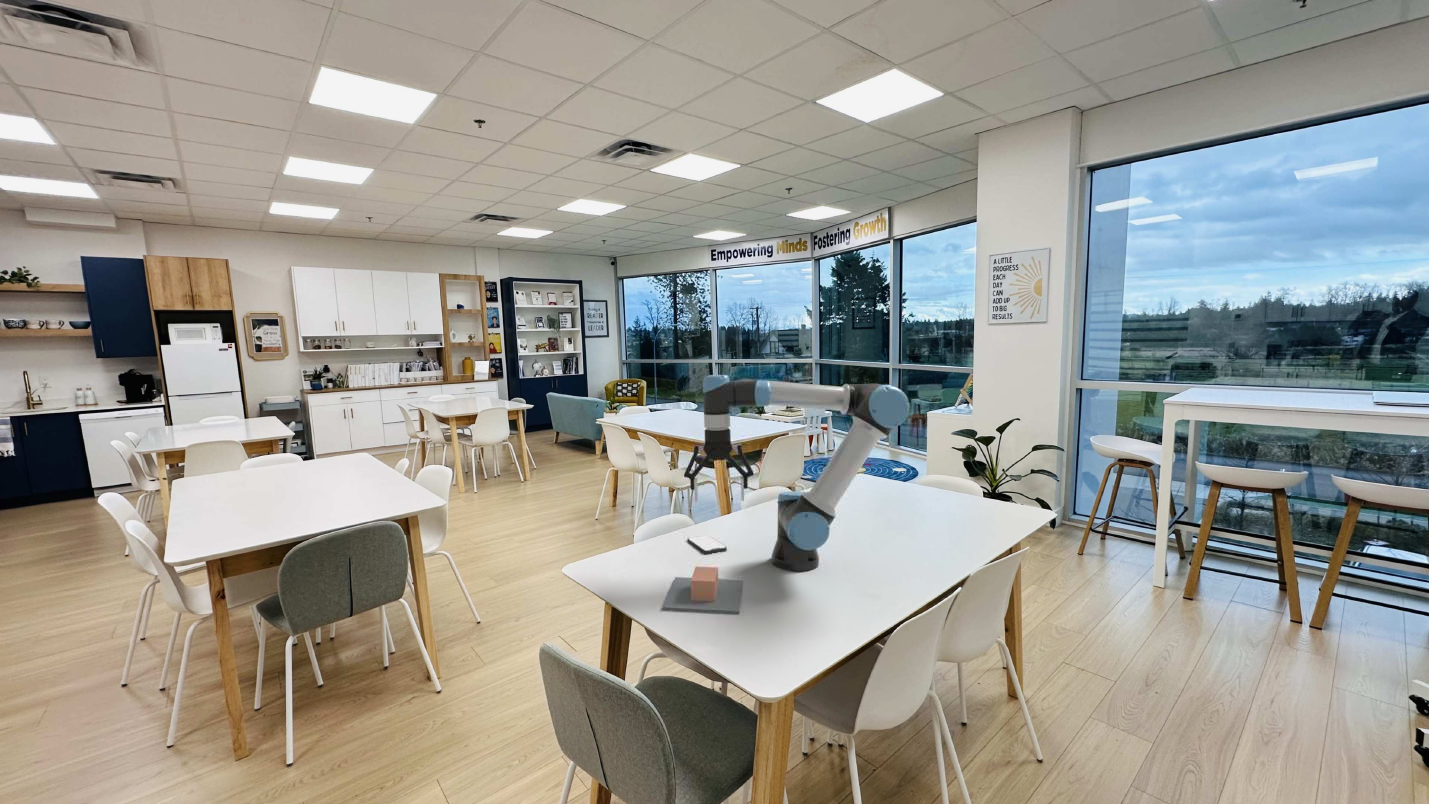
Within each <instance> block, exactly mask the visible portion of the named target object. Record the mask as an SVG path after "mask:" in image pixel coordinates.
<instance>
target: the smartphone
mask: <svg viewBox="0 0 1429 804" xmlns="http://www.w3.org/2000/svg"><path fill="white" fill-rule="evenodd" d="M687 541H688V543H689V544H690V545H692V547H694V548H695V549H697V550H698V551H699V552H701V554H703V553H704V554H703V555H713V554H712V553H714V554H718V552H720V553H724V552H727V550H728V549H727V546H725V545H724V544H722V543H720V542H719V541H717V540H716V539H714V538H713V537H711V536H710V535H701V536H692V537H688V538H687Z"/></svg>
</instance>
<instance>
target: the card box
mask: <svg viewBox="0 0 1429 804" xmlns="http://www.w3.org/2000/svg"><path fill="white" fill-rule="evenodd" d="M691 578H692V579H691V600H695V601H715V598H716V593H717V589H718V579H719V567H715V566H713V567H712V566H695V567H694V571H693V572H692V577H691Z"/></svg>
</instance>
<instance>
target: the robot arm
mask: <svg viewBox="0 0 1429 804" xmlns="http://www.w3.org/2000/svg"><path fill="white" fill-rule="evenodd" d="M702 383H703V384H702V385H703V386H702V389H703V391H702V393H703V395H702V396H703V399H702V400H703V422H704V423H703V425H704V428H705V429H704V445H698V444H695V445H694V448H693V454H692V456H691V458H690V460H689V462H688V464H687V467H686V470H685V471H684V474H683V476H684V478H687V479H689V480H690V491H694V502H696V503H697V502H698V501H699V490H698V489H699V487H698V485H699V484H698V477H696V476H697V475H698V474H699V473H700V472H701V471H702V470H703V468H704V466H705V465H706V464H707V463H708V462H709V461H710V460H711V461H713V462H714V461H724V460H727V462H729V464H731V465H732V466H733V468H734V469H735V470H737V471H738V473H739V474H740V475H741V476H740V492H741V493H740V494H741V495H740V496H741V499H740V500H741V502H742V501H743V502H744V501H745V491H744V490H747V489H748V488H749V487H748V485H749V483H748V478H750V477H752V476H754V470H753V468H752V467H751V465H750V463H749V461H748V459H747V458H746V455H745V454H744V452H743V447H742V444H741V443H737V444H732V442H731V441H732V440H731V435H732V434H731V429H730V427H731V411H730V409H731V408H751V407H753V408H755V407H756V408H757V407H758V408H761V407H768V406H778V407H779V406H781V407H792V408H803V409H804V408H805V409H813V410H814V409H815V410H816V409H817V410H824V411H825V410H826V411H827V410H828V411H829V410H830V411H837V412H838V411H840V413H841V414H842V415H849V416H851V418H852V423H853V424H852V425H851V427H850V428H849V430H848V431H847V433H846V434H845V437H844V438H843V439H842V441H841V442H840V445H839V446H838V447H837V449H836V451H835V452H834V453H833V454H832V457H831V458H830V460H829V461H828V462H827V464H826V466H825V467H824V468H823V470H822V472H821V473H820V474H819V476H818V478H817V480H816V481H815V483H814V485H813V486H812V488H811V489H810V491H783V492H780V493H779V494H778V496H777V497H778V498H777V501H776V502H777V534H776V535H777V537H776V540H775V541H776V542H775V544H774V547H773V549H772V553H771V563H772V564H773V566H775V567H777V568H779V569H782V570H785V571H793V572H804V571H811V570H813V569H816V568H817V567H819V565H820V557H819V553H818V549H819V548H821V547H822V546H823V545H824V544H826V542H827V541H828V539H829V537H830V531H831V530H830V529H831V528H830V526H831V524H832V522H833V521H834V519H835V518H836V516H837V515H836V514H837V513H836V510H835V509H836V507H837V505H838V504H839V502H840V501H841V499H842V497H843V496H844V494H845V492H846V491H847V490H848V488H849V487H850V485H851V484H852V482H853V481H854V479H855V478H856V476H857V474H858V472H859V471H860V470H861V468H862V467H863V465H864V463H865V462H866V460H867V459H868V457H869V456H870V454H871V453H872V451H873V450H874V448H875V446H876V445H877V443H878V442H879V441H880V440H882V439H887V438H888V437H889V435H890V433H891V432H892V430H893V429H894V428H896V427H898V426H900V425H902V424H903V423H904V422H905V421H906V419H907V418H908V416H909V414H910V413H909V412H910V403H909V399H908V397H907V395H906V394H905V392H903V390H901V389H899V388H898V387H896V386H893V385H891V384H880V383H861V384H859V383H858V384H855V383H854V384H853V383H852V384H850V383H845V384H843V385H842V386H836V385H827V384H826V385H825V384H824V385H823V384H813V383H812V384H811V383H799V382H788V381H778V380H777V381H775V380H761V379H750V378H740V379H739V380H737V381H731V380H730V377H729V375H727V374H711V375H710V374H709V375H706V376H704V377H703V382H702ZM733 450H734V451H735V453H737V454H738V456H739V458H740V460H741V462H742V463H743V464H744V466H745V467H744V468H745V469H746V471H745V470H744V468H743V467H742V466H741V465H740V464H739V463H738V462H737V461H736V460H735V458H734V457H733V456H732V454H730V453H731V452H732V451H733ZM702 451H703V452H704V453H705V454H706V455H705V457H703V459H702V460H701V462H700V463H699V464H698V465H697V466H696V467H695V469H694V470H693V472H692V473H691V471H692V468H693V466H694V464H695V461H696V460H697V457H698V455H699V454H701V453H702Z"/></svg>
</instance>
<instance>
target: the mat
mask: <svg viewBox="0 0 1429 804" xmlns="http://www.w3.org/2000/svg"><path fill="white" fill-rule="evenodd" d="M691 579H692V577H681V576H675V577H674V579H673V582H672V584H671V587H670V589H669V592H668V593H667V596H666V598H665V600H664V603H663V604H662V611H668V610H672V611H671V612H673V610H674V612H686V611H690V613H705V614H707V613H708V614H727V615H729V614H730V615H739V614H740V605H741V600H742V599H741V598H742V590H743V584H744V583H743V582H744V580H743V579H728V578H727V579H726V578H725V579H724V578H718V589H717V593H716V598H715V601H695V600H691Z"/></svg>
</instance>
